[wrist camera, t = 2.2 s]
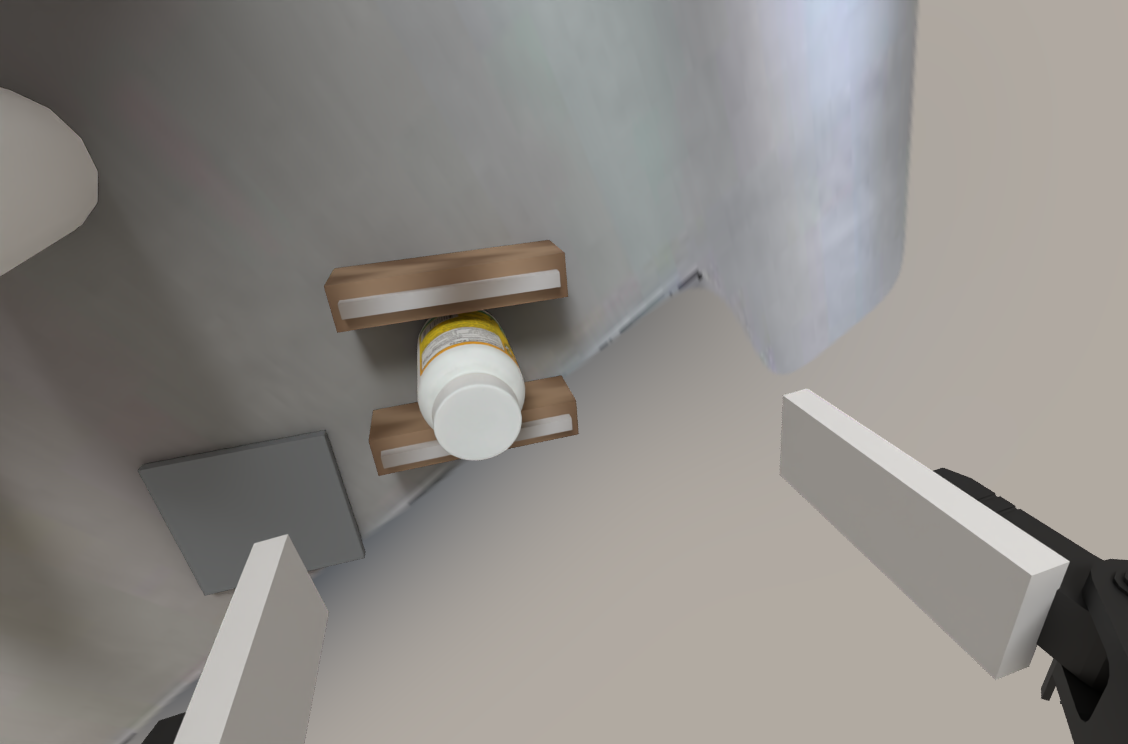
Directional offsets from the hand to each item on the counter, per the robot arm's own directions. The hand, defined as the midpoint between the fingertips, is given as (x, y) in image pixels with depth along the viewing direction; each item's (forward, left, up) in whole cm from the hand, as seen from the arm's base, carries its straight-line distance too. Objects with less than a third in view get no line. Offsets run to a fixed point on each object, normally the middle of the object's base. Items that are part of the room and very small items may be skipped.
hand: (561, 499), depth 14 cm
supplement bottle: (-2, -3, -20) cm, 20 cm away
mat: (-16, -12, -20) cm, 28 cm away
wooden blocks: (-2, -3, -20) cm, 20 cm away
